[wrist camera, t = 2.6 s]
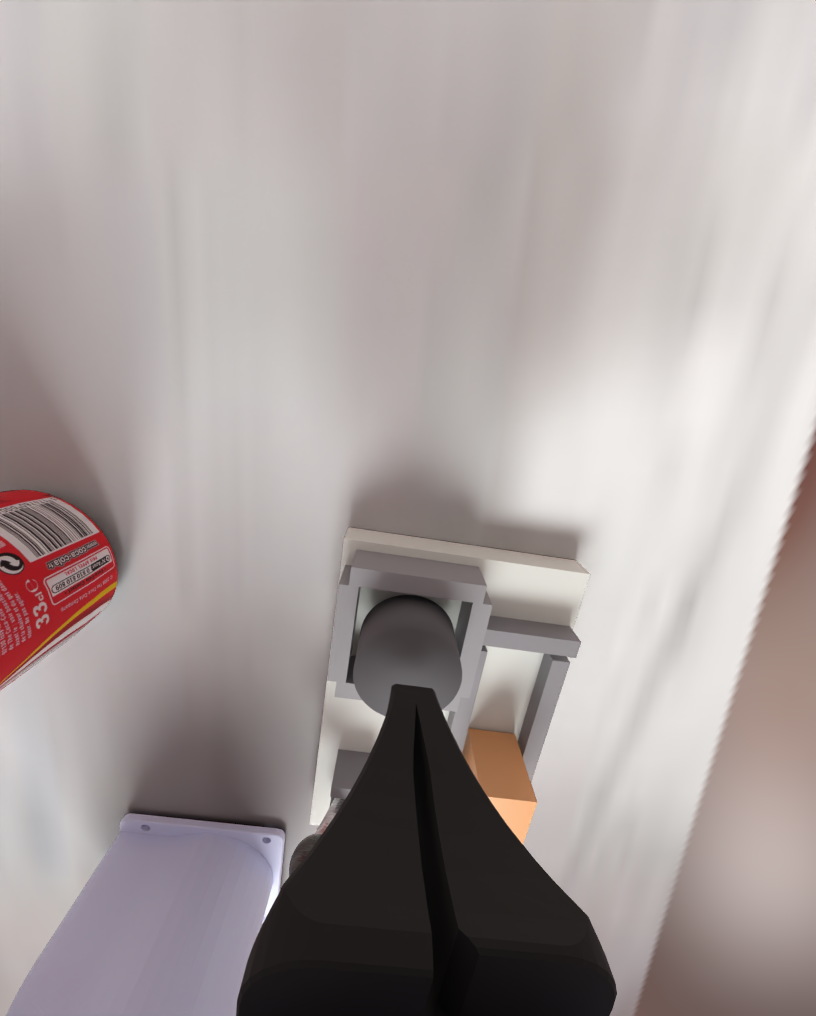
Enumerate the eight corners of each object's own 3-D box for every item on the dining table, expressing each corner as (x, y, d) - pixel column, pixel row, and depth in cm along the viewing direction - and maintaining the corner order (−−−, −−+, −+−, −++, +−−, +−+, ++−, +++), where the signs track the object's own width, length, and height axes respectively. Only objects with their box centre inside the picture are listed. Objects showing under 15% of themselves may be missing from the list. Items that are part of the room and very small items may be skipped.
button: (355, 669, 17) (347, 713, 14) (366, 588, 16) (360, 621, 13) (444, 681, 17) (451, 726, 15) (462, 601, 16) (472, 636, 14)
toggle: (338, 788, 20) (277, 896, 16) (342, 758, 20) (280, 862, 15) (372, 804, 20) (319, 922, 15) (377, 775, 19) (324, 887, 15)
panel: (315, 797, 23) (300, 867, 19) (348, 527, 18) (335, 557, 15) (497, 816, 23) (513, 888, 20) (576, 560, 18) (614, 596, 15)
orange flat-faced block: (457, 770, 20) (468, 843, 17) (468, 728, 19) (481, 796, 16) (502, 775, 20) (521, 848, 17) (514, 733, 19) (537, 802, 16)
